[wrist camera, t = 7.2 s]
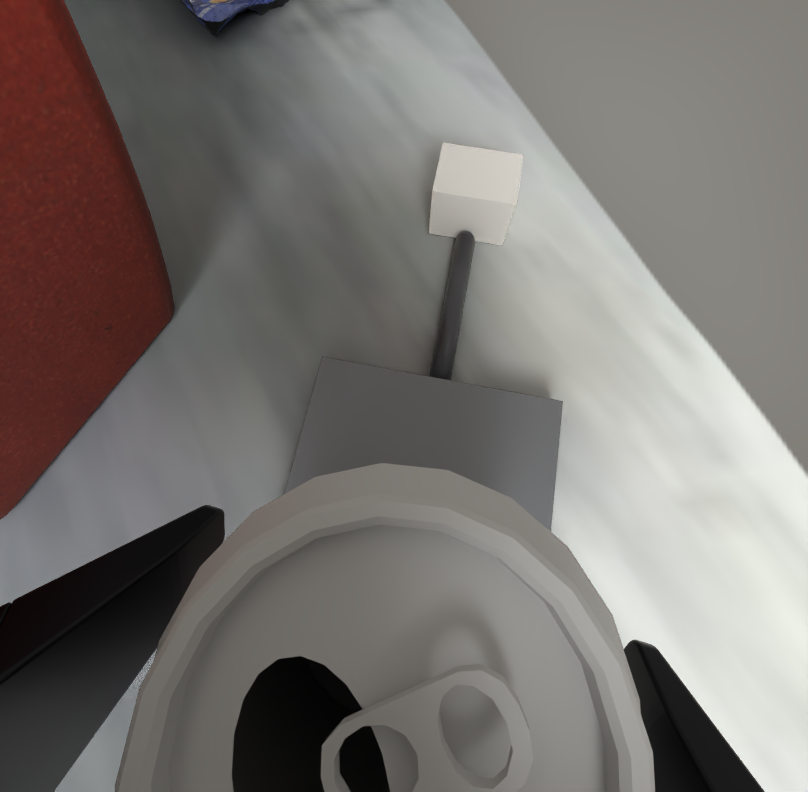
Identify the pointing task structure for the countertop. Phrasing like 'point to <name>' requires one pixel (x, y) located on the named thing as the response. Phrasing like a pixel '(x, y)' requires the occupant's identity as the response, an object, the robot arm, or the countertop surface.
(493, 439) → the pad
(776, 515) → the countertop surface
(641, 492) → the countertop surface
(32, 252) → the plant pot
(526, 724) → the can
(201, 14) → the snack package
